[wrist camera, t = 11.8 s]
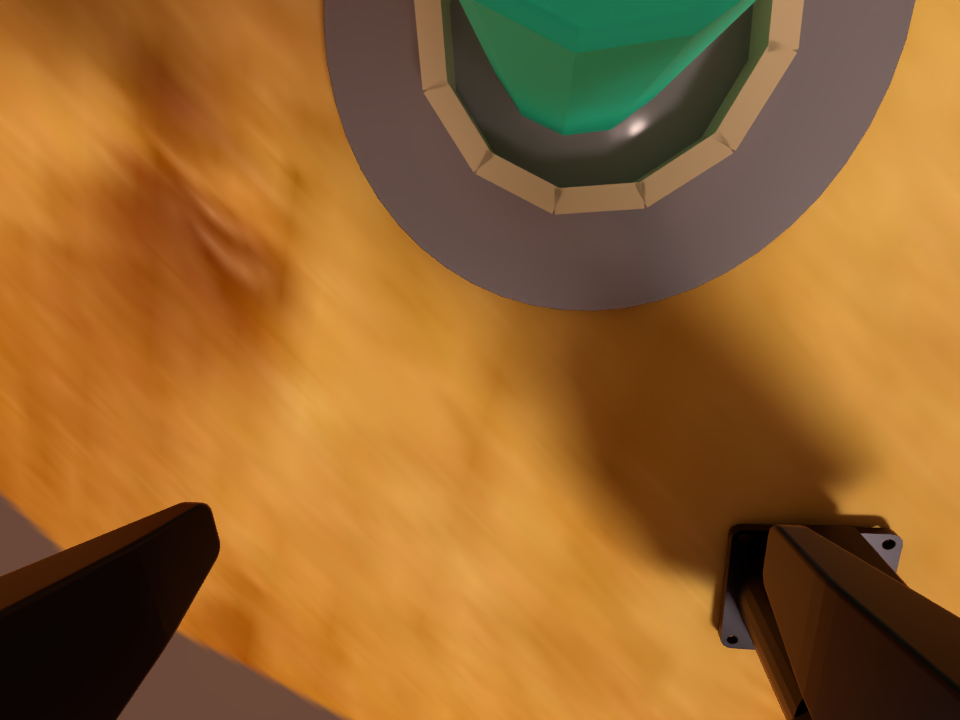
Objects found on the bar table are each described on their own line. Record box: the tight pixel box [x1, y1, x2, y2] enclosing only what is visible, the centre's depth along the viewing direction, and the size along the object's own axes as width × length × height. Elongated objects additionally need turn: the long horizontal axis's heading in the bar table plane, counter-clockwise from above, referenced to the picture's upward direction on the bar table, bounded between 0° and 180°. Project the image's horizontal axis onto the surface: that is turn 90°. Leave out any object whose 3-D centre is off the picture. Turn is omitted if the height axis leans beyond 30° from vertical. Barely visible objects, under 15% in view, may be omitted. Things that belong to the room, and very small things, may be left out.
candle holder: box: [324, 0, 915, 311], centre depth 15 cm, size 18×18×2 cm
